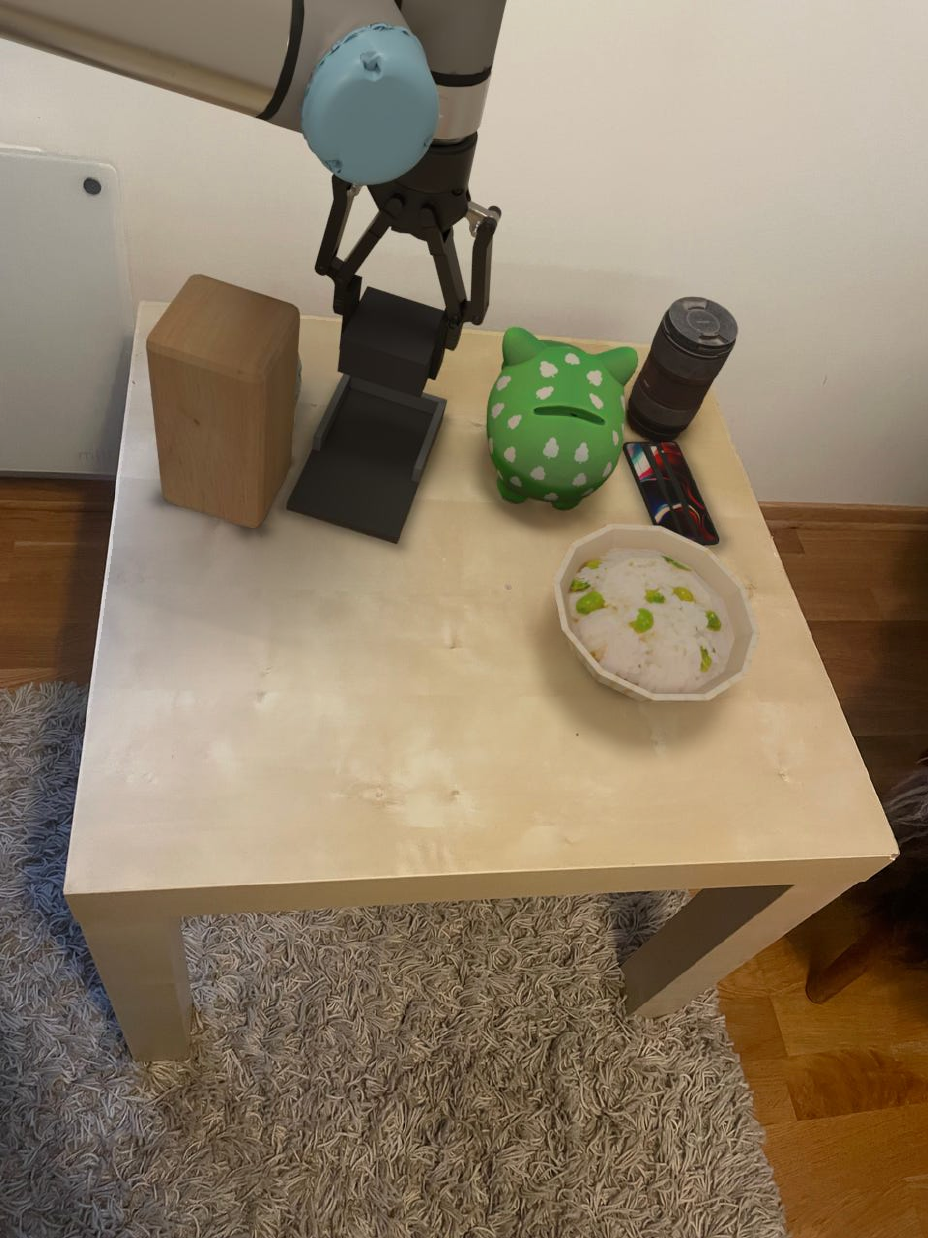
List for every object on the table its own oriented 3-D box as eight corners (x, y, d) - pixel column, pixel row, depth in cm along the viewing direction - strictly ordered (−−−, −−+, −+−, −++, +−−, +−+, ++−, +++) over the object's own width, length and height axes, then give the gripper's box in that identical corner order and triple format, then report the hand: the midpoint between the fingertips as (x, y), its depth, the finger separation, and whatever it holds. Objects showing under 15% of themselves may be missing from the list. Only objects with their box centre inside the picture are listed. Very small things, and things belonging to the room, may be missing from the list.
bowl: (496, 596, 90) (521, 533, 82) (662, 561, 97) (701, 500, 89) (577, 773, 82) (614, 721, 73) (753, 721, 88) (805, 668, 80)
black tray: (396, 544, 92) (401, 525, 89) (286, 509, 91) (287, 489, 89) (442, 419, 102) (447, 399, 100) (343, 387, 102) (346, 366, 100)
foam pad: (337, 371, 85) (340, 337, 82) (363, 319, 90) (367, 285, 87) (420, 398, 85) (427, 365, 82) (441, 345, 90) (448, 311, 87)
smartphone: (663, 546, 98) (621, 441, 106) (661, 550, 99) (619, 445, 106) (723, 543, 100) (677, 439, 108) (720, 546, 101) (675, 443, 108)
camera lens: (609, 400, 110) (655, 295, 97) (668, 395, 112) (720, 292, 100) (636, 451, 106) (687, 348, 93) (696, 444, 108) (754, 343, 96)
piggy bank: (593, 418, 107) (638, 313, 95) (603, 541, 97) (655, 441, 85) (472, 398, 105) (503, 288, 93) (470, 522, 95) (504, 416, 83)
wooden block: (158, 503, 89) (139, 337, 72) (200, 433, 94) (191, 265, 78) (258, 534, 89) (262, 377, 73) (294, 463, 95) (304, 302, 78)
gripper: (278, 97, 66) (271, 346, 85) (554, 188, 67) (487, 415, 86) (312, 52, 71) (299, 298, 89) (571, 137, 71) (504, 365, 90)
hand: (391, 355), depth 87 cm, fingers closed on foam pad, 8 cm apart
